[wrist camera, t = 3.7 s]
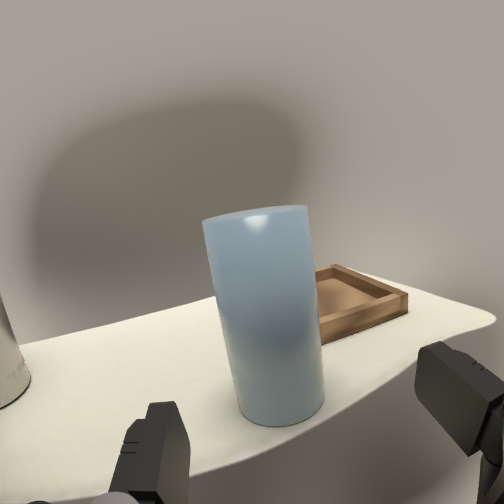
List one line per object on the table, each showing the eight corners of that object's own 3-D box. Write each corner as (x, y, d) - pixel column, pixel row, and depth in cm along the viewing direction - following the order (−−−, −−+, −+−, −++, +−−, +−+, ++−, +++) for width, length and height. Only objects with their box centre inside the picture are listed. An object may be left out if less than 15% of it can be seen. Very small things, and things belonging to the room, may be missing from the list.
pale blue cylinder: (251, 437, 16) (209, 226, 14) (231, 387, 21) (196, 219, 19) (339, 407, 17) (326, 206, 15) (303, 367, 23) (284, 204, 20)
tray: (294, 353, 25) (292, 331, 24) (249, 301, 38) (246, 285, 38) (407, 312, 28) (408, 293, 27) (337, 278, 41) (335, 264, 40)
